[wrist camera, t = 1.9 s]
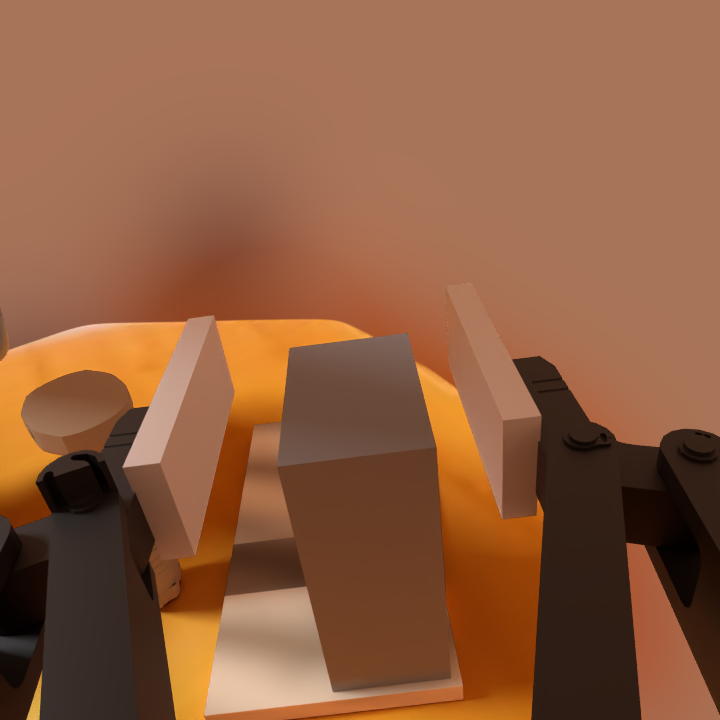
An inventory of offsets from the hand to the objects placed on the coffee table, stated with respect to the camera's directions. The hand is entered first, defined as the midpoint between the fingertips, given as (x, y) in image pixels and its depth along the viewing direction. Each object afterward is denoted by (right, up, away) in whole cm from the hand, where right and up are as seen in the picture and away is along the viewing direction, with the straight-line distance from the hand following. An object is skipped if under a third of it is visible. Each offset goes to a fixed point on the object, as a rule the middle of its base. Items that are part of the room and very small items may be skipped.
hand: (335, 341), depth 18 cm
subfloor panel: (-1, -12, +23) cm, 26 cm away
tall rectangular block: (+2, -15, +16) cm, 22 cm away
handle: (-12, -16, +20) cm, 28 cm away
